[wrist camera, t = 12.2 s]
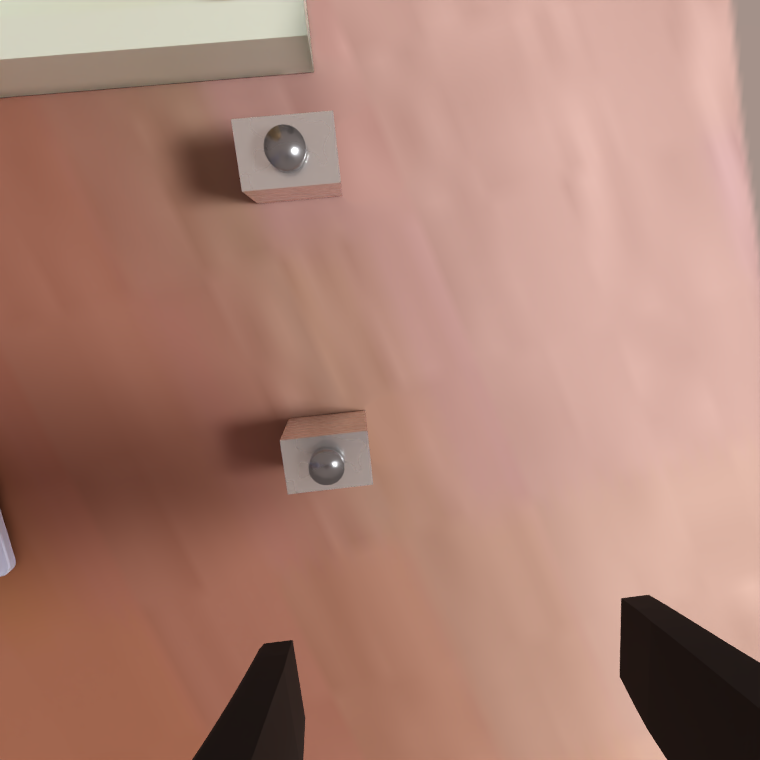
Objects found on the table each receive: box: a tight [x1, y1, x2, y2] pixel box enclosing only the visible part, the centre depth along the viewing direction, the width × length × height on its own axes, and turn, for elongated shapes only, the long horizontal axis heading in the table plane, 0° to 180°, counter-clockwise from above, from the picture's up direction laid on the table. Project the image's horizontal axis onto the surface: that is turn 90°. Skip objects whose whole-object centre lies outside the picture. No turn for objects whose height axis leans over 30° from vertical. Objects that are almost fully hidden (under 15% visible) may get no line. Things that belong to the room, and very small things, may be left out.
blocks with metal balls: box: [231, 111, 373, 494], centre depth 16 cm, size 3×12×3 cm, turn 6°
